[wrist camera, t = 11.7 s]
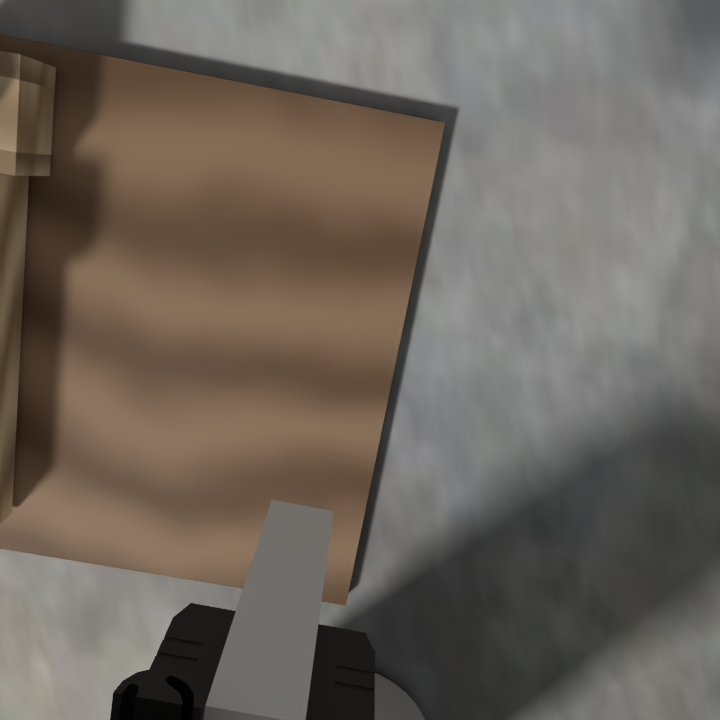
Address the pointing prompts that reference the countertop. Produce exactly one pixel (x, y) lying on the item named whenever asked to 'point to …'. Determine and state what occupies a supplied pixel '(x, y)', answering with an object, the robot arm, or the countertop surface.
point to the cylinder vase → (393, 702)
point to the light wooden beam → (17, 225)
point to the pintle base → (207, 315)
